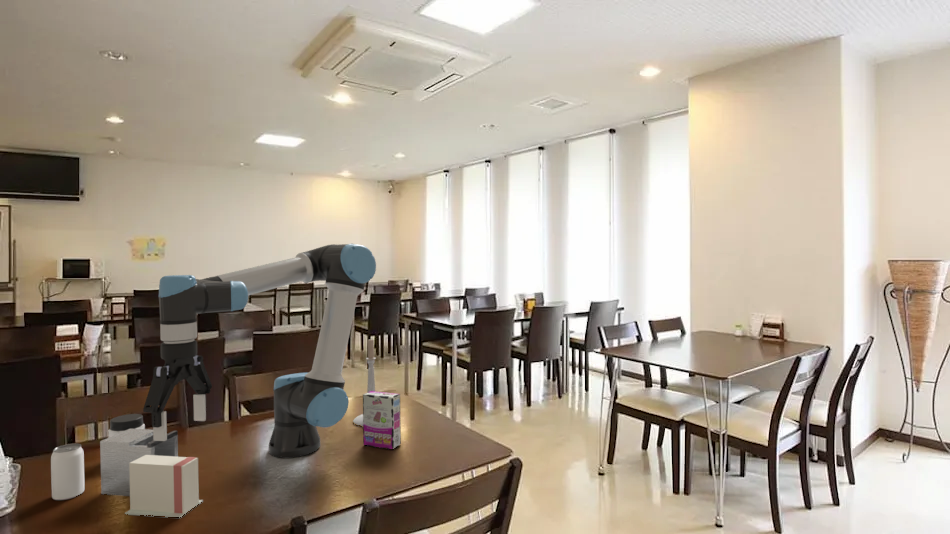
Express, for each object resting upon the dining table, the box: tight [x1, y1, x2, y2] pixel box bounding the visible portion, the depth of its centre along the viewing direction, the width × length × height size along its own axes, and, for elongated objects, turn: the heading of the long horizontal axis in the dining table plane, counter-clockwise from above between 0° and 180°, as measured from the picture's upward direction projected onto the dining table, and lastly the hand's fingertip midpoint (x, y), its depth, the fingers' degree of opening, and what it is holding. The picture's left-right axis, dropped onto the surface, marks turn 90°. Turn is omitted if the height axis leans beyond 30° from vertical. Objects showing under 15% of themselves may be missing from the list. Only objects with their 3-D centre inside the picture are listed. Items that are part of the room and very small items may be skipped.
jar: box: [107, 413, 146, 438], centre depth 152 cm, size 9×8×12 cm
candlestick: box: [352, 338, 377, 426], centre depth 185 cm, size 13×13×30 cm
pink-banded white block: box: [129, 455, 200, 513], centre depth 122 cm, size 14×5×11 cm, turn 82°
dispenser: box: [99, 428, 179, 497], centre depth 133 cm, size 14×9×14 cm
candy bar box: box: [362, 390, 402, 450], centre depth 162 cm, size 11×5×16 cm, turn 68°
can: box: [50, 443, 85, 501], centre depth 129 cm, size 6×6×12 cm
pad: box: [124, 499, 204, 519], centre depth 123 cm, size 14×8×1 cm, turn 82°
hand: (181, 430), depth 122 cm, fingers open, 13 cm apart
